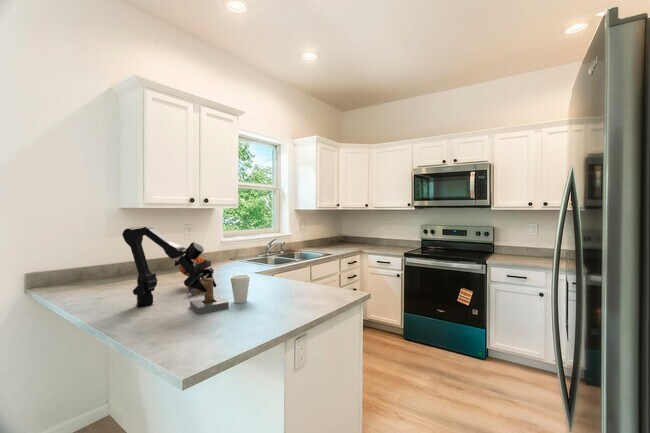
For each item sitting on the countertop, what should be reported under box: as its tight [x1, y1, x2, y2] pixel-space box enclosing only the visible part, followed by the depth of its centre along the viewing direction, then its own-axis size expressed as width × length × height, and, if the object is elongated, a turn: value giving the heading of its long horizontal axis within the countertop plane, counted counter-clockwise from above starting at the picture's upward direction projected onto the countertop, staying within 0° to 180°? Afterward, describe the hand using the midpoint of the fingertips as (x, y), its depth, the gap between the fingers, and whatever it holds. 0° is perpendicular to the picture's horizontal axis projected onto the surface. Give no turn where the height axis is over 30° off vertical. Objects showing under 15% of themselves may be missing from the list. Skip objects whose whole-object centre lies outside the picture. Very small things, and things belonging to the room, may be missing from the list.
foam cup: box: [230, 273, 250, 304], centre depth 162 cm, size 10×9×13 cm
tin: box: [187, 278, 204, 296], centre depth 179 cm, size 15×3×8 cm, turn 143°
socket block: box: [189, 295, 230, 315], centre depth 152 cm, size 14×14×3 cm
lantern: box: [178, 255, 210, 277], centre depth 195 cm, size 17×17×30 cm
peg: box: [203, 277, 214, 304], centre depth 152 cm, size 4×4×14 cm
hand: (211, 289), depth 152 cm, fingers open, 9 cm apart
